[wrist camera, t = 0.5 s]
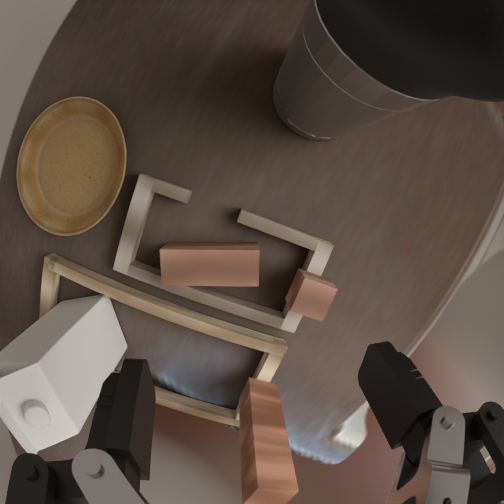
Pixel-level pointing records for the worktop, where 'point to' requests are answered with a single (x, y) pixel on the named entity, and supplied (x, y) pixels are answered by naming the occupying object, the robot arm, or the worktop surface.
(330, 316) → the worktop surface
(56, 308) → the milk carton
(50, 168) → the plant saucer
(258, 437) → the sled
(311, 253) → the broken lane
